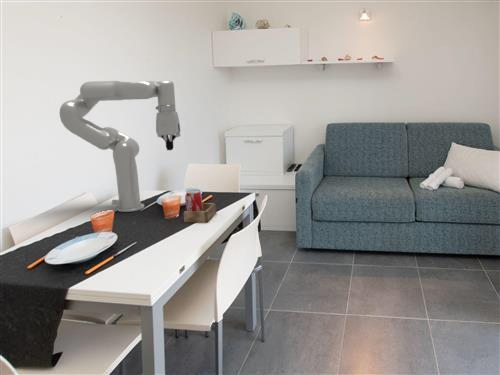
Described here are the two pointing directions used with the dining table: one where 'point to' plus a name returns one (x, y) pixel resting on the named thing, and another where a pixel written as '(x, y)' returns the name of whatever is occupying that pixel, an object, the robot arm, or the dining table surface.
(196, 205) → the soda can
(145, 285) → the dining table surface
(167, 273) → the dining table surface
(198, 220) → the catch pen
